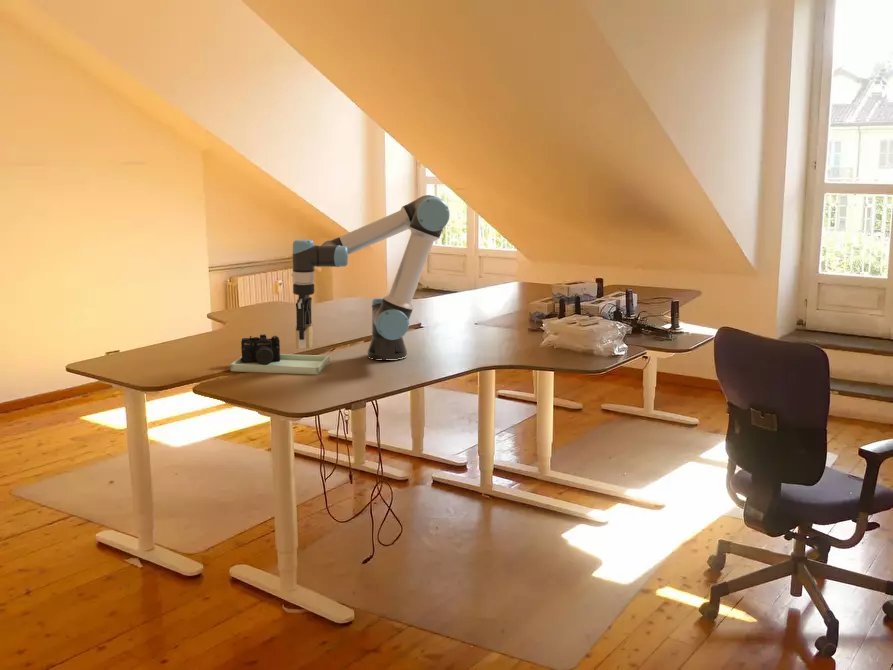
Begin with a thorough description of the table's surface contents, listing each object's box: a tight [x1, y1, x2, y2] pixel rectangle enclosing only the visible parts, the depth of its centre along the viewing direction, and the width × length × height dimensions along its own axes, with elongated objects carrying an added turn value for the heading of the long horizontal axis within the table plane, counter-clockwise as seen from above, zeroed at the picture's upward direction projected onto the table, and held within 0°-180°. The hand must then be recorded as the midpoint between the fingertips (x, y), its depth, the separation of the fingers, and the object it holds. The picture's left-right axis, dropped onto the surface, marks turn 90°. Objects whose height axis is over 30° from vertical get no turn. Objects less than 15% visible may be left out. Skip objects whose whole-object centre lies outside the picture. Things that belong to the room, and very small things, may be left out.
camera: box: [240, 334, 281, 365], centre depth 323 cm, size 14×11×10 cm
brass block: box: [295, 323, 314, 350], centre depth 320 cm, size 5×5×8 cm
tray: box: [230, 353, 331, 375], centre depth 323 cm, size 18×32×2 cm, turn 85°
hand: (304, 346), depth 321 cm, fingers closed on brass block, 5 cm apart
